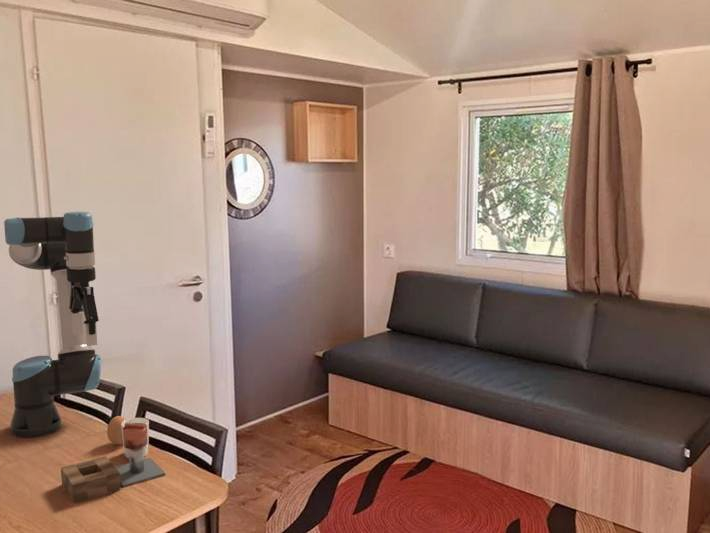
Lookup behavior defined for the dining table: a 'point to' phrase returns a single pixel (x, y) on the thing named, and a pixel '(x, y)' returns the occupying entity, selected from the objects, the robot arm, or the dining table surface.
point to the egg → (115, 430)
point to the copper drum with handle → (135, 445)
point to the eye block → (90, 479)
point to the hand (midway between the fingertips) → (84, 339)
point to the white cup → (136, 420)
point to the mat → (149, 473)
